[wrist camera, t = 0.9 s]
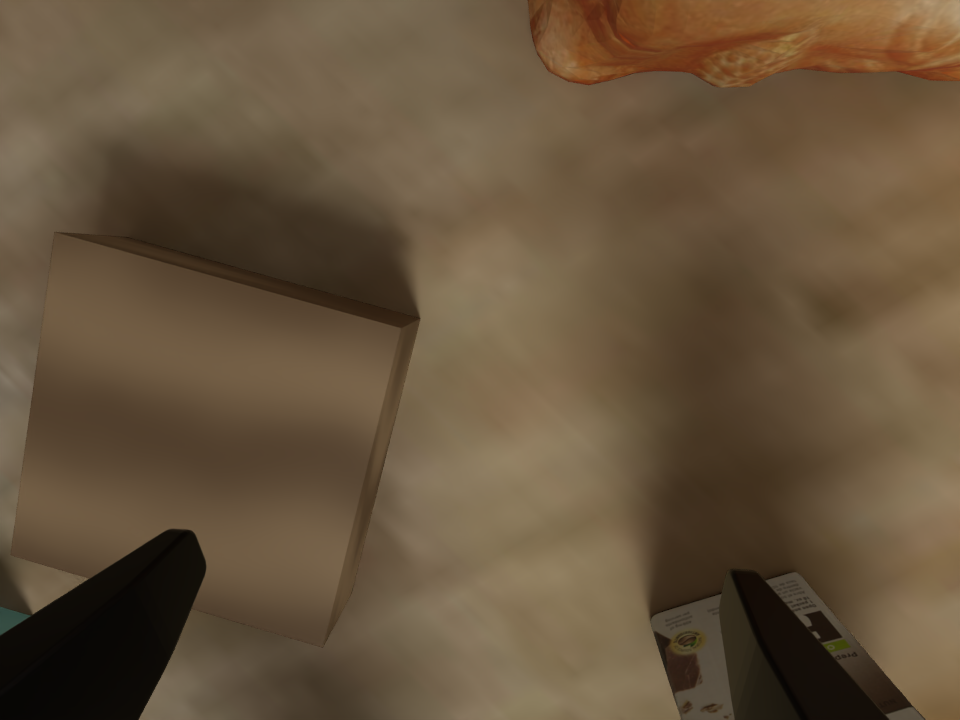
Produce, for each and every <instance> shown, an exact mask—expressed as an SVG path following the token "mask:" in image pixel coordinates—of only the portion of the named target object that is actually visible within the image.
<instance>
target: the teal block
mask: <svg viewBox="0 0 960 720" xmlns="http://www.w3.org/2000/svg"><path fill="white" fill-rule="evenodd" d="M28 617H30V616H29V615H26V614H23V613H19V612H16V611H13V610H9V609H6V608H3V607H0V635H1V634H3V633H4V632H6V631H7V630H9V629H11V628H12V627H14V626H15V625H17V624H19V623H20V622H22V621H23V620H25V619H26V618H28Z"/></svg>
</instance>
